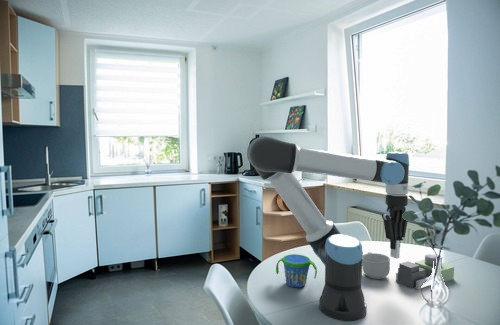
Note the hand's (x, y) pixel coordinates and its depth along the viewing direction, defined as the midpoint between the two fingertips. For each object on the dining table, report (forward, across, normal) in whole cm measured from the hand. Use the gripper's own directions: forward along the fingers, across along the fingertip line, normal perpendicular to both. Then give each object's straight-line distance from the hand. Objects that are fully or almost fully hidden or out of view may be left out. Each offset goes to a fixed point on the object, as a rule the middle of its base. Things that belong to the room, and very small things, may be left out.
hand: (394, 257), depth 129 cm
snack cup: (+12, -30, +21) cm, 38 cm away
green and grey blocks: (+12, +18, 0) cm, 22 cm away
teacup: (+13, +4, +13) cm, 19 cm away
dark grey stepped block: (+12, +10, 0) cm, 16 cm away
